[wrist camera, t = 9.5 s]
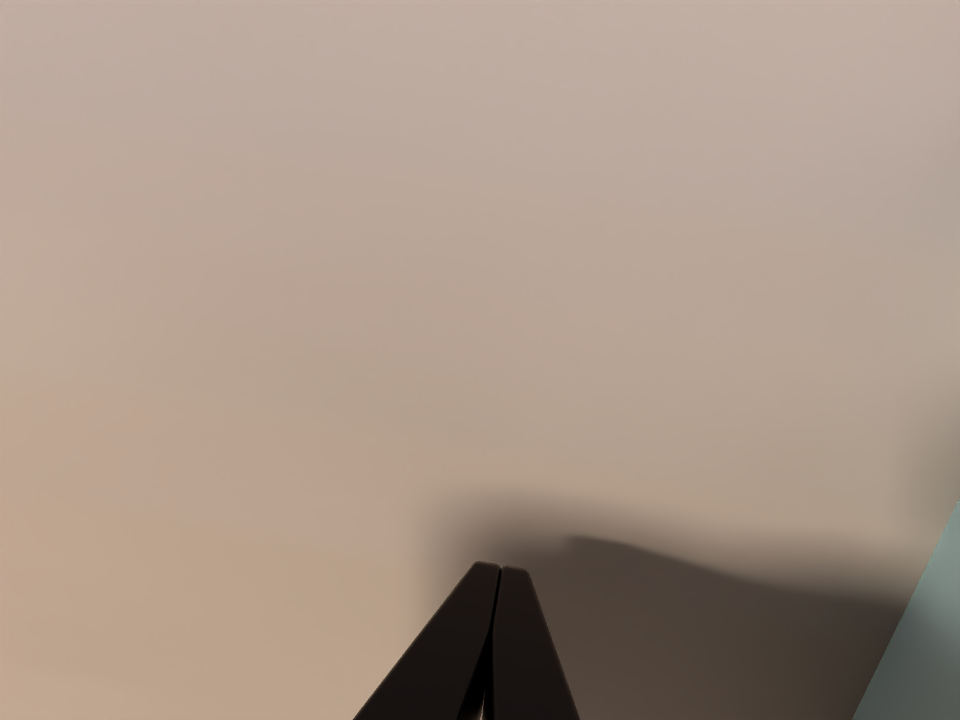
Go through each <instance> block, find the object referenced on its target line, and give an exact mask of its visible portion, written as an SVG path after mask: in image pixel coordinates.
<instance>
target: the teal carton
mask: <svg viewBox="0 0 960 720" xmlns="http://www.w3.org/2000/svg"><path fill="white" fill-rule="evenodd" d="M852 720H960V498H959V500H958V502H957V505H956V507H955V509H954V511H953V513H952V515H951V517H950V519H949V521H948V523H947V525H946V527H945V529H944V531H943V533H942V535H941V537H940V539H939V541H938V544H937V546H936V548H935V550H934V552H933V554H932V556H931V558H930V560H929V562H928V564H927V566H926V568H925V570H924V572H923V574H922V576H921V578H920V580H919V583H918V585H917V587H916V589H915V591H914V593H913V595H912V597H911V599H910V601H909V603H908V605H907V607H906V609H905V611H904V613H903V615H902V617H901V619H900V622H899V624H898V626H897V628H896V630H895V632H894V634H893V636H892V638H891V640H890V642H889V644H888V646H887V648H886V650H885V652H884V654H883V656H882V658H881V661H880V663H879V665H878V667H877V669H876V671H875V673H874V675H873V677H872V679H871V681H870V683H869V685H868V687H867V689H866V691H865V693H864V695H863V697H862V700H861V702H860V704H859V706H858V708H857V710H856V712H855V714H854V716H853V718H852Z"/></svg>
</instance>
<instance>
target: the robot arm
mask: <svg viewBox="0 0 960 720" xmlns="http://www.w3.org/2000/svg"><path fill="white" fill-rule="evenodd" d="M484 694H485V695H484ZM483 700H484V704H483ZM482 706H483V714H482V720H580V718H579V715H578V712H577V709H576V706H575V703H574V701H573V698H572V695H571V692H570V689H569V686H568V683H567V681H566V678H565V675H564V672H563V669H562V666H561V663H560V660H559V658H558V655H557V652H556V649H555V646H554V643H553V640H552V637H551V635H550V632H549V629H548V626H547V623H546V620H545V617H544V615H543V612H542V609H541V606H540V603H539V600H538V597H537V594H536V592H535V589H534V586H533V583H532V580H531V577H530V574H529V572H528V571H527V570H526V569H523V568H517V567H511V566H504V567H502V569H501V568H500V566H499V565H498V564H493V563H487V562H480V561H477V562H475V563H474V564H473V565H472V566H471V568H470V569H469V570H468V571H467V573H466V574H465V575H464V577H463V578H462V579H461V580H460V582H459V583H458V584H457V586H456V587H455V588H454V589H453V591H452V592H451V593H450V595H449V596H448V597H447V599H446V600H445V601H444V602H443V604H442V605H441V606H440V608H439V609H438V610H437V611H436V613H435V614H434V615H433V617H432V618H431V619H430V620H429V622H428V623H427V624H426V626H425V627H424V628H423V629H422V631H421V632H420V633H419V635H418V636H417V637H416V639H415V640H414V641H413V642H412V644H411V645H410V646H409V648H408V649H407V650H406V651H405V653H404V654H403V655H402V657H401V658H400V659H399V660H398V662H397V663H396V664H395V666H394V667H393V668H392V670H391V671H390V672H389V673H388V675H387V676H386V677H385V679H384V680H383V681H382V682H381V684H380V685H379V686H378V688H377V689H376V690H375V691H374V693H373V694H372V695H371V697H370V698H369V699H368V700H367V702H366V703H365V704H364V706H363V707H362V708H361V710H360V711H359V712H358V713H357V715H356V716H355V717H354V719H353V720H480V717H481V712H482Z"/></svg>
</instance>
